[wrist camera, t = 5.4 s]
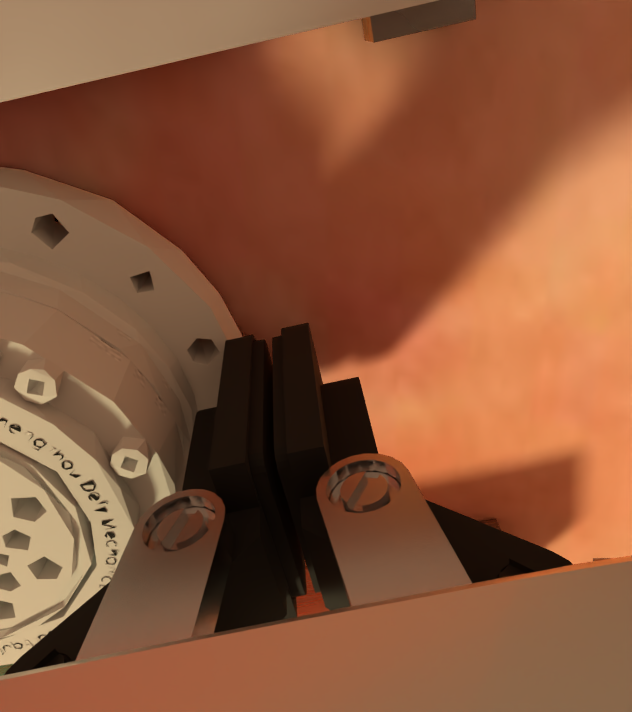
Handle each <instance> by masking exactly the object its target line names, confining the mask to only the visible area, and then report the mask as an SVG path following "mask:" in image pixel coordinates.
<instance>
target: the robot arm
mask: <svg viewBox="0 0 632 712" xmlns="http://www.w3.org/2000/svg"><path fill="white" fill-rule="evenodd" d="M281 334H282V336H279V337H274V338H272V352H273V365H272V361H271V357H270V354H269V350H268V347H267V344H266V341H265V340H260V341H256V340H255V338H254V336H253V335H249V336H245V337H240V338H235V339H231V340H226V341H225V347H224V355H223V362H222V370H221V377H220V385H219V393H218V400H217V407H213V408H209V409H204V410H199V411H198V412H197V413H196V416H195V422H194V427H193V433H192V438H191V443H190V449H189V454H188V460H187V465H186V471H185V476H184V482H183V487H182V491H180V492H176V493H174V494H172V495H169V496H167V497H164V498H163V499H161V500H160V501H158V502H157V503H155V504H154V505H152V506H151V507H150V508H149V509H148V510H147V511H146V512H145V513H144V514H143V515H142V516H141V517H140V519H139V521H138V522H137V524H136V525H135V527H134V529H133V532H132V534H131V536H130V538H129V541H128V543H127V545H126V547H125V550H124V552H123V554H122V556H121V559H120V561H119V563H118V565H117V568H116V570H115V572H114V575H113V577H112V579H111V581H110V582H109V583H108V584H106V585H105V586H104V587H103V588H102V589H101V590H99V591H98V592H97V593H96V594H95V595H93V596H92V597H91V598H90V599H89V600H87V601H86V602H85V603H84V604H83V605H82V606H80V607H79V608H78V609H77V610H76V611H74V612H73V613H72V614H71V615H70V616H69V617H67V618H66V619H65V620H64V621H63V622H61V623H60V624H59V625H58V626H57V627H55V628H54V629H53V630H52V631H51V632H50V633H48V634H47V635H46V636H45V637H44V638H42V639H41V640H40V641H39V642H38V643H36V644H35V645H34V646H33V647H32V648H31V649H29V650H28V651H27V652H26V653H25V654H23V655H22V656H21V657H20V658H19V659H18V660H17V661H16V662H15V663H14V664H13V665H12V666H11V667H10V668H9V669H8V670H7V671H6V673H5V674H4V675H3V676H0V712H632V556H626V557H619V558H593V562H586V563H580V564H574V565H573V564H572V563H571V562H570V561H569V560H567V559H565V558H563V557H562V556H560V555H558V554H556V553H554V552H552V551H550V550H547V549H545V548H543V547H540V546H538V545H535V544H533V543H530V542H528V541H525V540H523V539H520V538H518V537H516V536H513V535H511V534H508V533H506V532H503V531H501V530H498V529H496V528H494V527H491V526H489V525H486V524H484V523H481V522H479V521H476V520H474V519H471V518H469V517H467V516H464V515H462V514H459V513H457V512H454V511H452V510H449V509H447V508H444V507H442V506H440V505H437V504H435V503H432V502H430V501H427V500H425V499H424V497H423V495H422V493H421V492H420V490H419V488H418V486H417V484H416V483H415V481H414V479H413V477H412V476H411V474H410V472H409V470H408V469H407V468H406V467H405V466H404V465H403V464H402V462H400V461H398V460H396V459H394V458H393V457H390V456H386V455H382V454H378V451H377V447H376V443H375V439H374V435H373V431H372V427H371V423H370V419H369V415H368V411H367V408H366V404H365V400H364V396H363V392H362V388H361V384H360V380H359V377H356V378H351V379H346V380H341V381H337V382H332V383H327V384H323V382H322V378H321V374H320V370H319V365H318V361H317V357H316V353H315V348H314V344H313V340H312V336H311V331H310V327H309V324H308V323H305V324H300V325H296V326H291V327H286V328H282V329H281ZM305 561H306V565H307V568H308V571H309V575H310V578H311V581H312V584H313V588H314V591H315V593H318V592H321V594H322V598H323V601H324V605H325V607H326V608H327V609H329V610H330V611H325V612H320V613H314V614H309V615H304V616H299V617H297V601H296V597H298V596H303V595H306V594H307V586H306V572H305Z"/></svg>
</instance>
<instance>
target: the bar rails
mask: <svg viewBox="0 0 632 712" xmlns="http://www.w3.org/2000/svg"><path fill="white" fill-rule="evenodd" d="M361 18H362V24H363V31H364V38H365V41H369V42H378V41H383V40H387V39H391V38H396V37H400V36H404V35H409V34H413V33H417V32H422V31H426V30H430V29H435V28H439V27H443V26H448V25H452V24H456V23H461V22H465V21H469V20H474V19H476V10H475V0H0V102H4V101H9V100H13V99H17V98H22V97H26V96H30V95H34V94H39V93H43V92H47V91H52V90H56V89H60V88H65V87H69V86H73V85H77V84H82V83H86V82H90V81H95V80H99V79H103V78H107V77H112V76H116V75H120V74H125V73H129V72H133V71H137V70H142V69H146V68H150V67H155V66H159V65H163V64H168V63H172V62H176V61H180V60H185V59H189V58H193V57H198V56H202V55H206V54H210V53H215V52H219V51H223V50H228V49H232V48H236V47H241V46H245V45H249V44H253V43H258V42H262V41H266V40H271V39H275V38H279V37H283V36H288V35H292V34H296V33H301V32H305V31H309V30H313V29H318V28H322V27H326V26H331V25H335V24H339V23H344V22H348V21H352V20H356V19H361ZM481 523H484V524H486V525H489V526H491V527H494V528H496V529H498V530H501V529H500V527H499V525H498V523H497V520H496V519H492V520H487V521H482V522H481ZM305 572H306V586H307V594H306V595H303V596H298V597H296V601H297V617H299V616H304V615H309V614H314V613H320V612H325V611H330V610H329V609H327V608H326V607H325V605H324V601H323V598H322V594H321V592H318V593H315V591H314V588H313V584H312V581H311V578H310V575H309V571H308V568H307V567H305ZM12 665H13V664H7V665H1V666H0V676H3V675H4V674H5V673H6V671H7V670H8V669H9V668H10V667H11V666H12Z"/></svg>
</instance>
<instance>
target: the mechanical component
mask: <svg viewBox="0 0 632 712" xmlns="http://www.w3.org/2000/svg"><path fill="white" fill-rule="evenodd" d="M54 216H55V217H56V218H57V219H58V221H59V222H60V223H61V224H62V225H63V226H62V225H61V224H59V223H57V222H55V220H54ZM240 337H242V334H241V332H240V331H239V329H238V327H237V325H236V323H235V321H234V319H233V318H232V316H231V314H230V312H229V310H228V308H227V307H226V305H225V303H224V301H223V299H222V297H221V295H220V294H219V292H218V291H217V290H216V289H215V288H214V287H213V285H212V284H211V283H210V282H209V281H208V280H207V279H206V277H205V276H204V275H203V274H202V273H201V272H200V270H199V269H198V268H197V267H196V266H195V265H194V264H193V262H192V261H191V260H190V259H189V258H188V257H187V256H186V254H185V253H184V252H183V251H182V250H181V249H179V248H178V247H177V246H175V245H174V244H173V243H171V242H170V241H168V240H167V239H166V238H164V237H163V236H162V235H160V234H159V233H157V232H156V231H155V230H153V229H152V228H151V227H149V226H148V225H147V224H145V223H144V222H142V221H141V220H140V219H138V218H137V217H136V216H134V215H133V214H131V213H130V212H129V211H127V210H126V209H125V208H123V207H122V206H120V205H119V204H118V203H116V202H115V201H114V200H112V199H109V198H106V197H103V196H100V195H97V194H94V193H91V192H88V191H85V190H82V189H79V188H76V187H73V186H70V185H67V184H64V183H61V182H58V181H55V180H52V179H49V178H46V177H43V176H40V175H37V174H35V173H32V172H29V171H26V170H23V169H14V168H6V167H0V666H1V665H7V664H14V663H15V662H16V661H17V660H18V659H19V658H20V657H21V656H22V655H23V654H25V653H26V652H27V651H28V650H29V649H31V648H32V647H33V646H34V645H35V644H36V643H38V642H39V641H40V640H41V639H42V638H44V637H45V636H46V635H47V634H48V633H50V632H51V631H52V630H53V629H54V628H55V627H57V626H58V625H59V624H60V623H61V622H63V621H64V620H65V619H66V618H67V617H69V616H70V615H71V614H72V613H73V612H74V611H76V610H77V609H78V608H79V607H80V606H82V605H83V604H84V603H85V602H86V601H87V600H89V599H90V598H91V597H92V596H93V595H95V594H96V593H97V592H98V591H99V590H101V589H102V588H103V587H104V586H105V585H106V584H108V583H109V582H110V581H111V579H112V577H113V575H114V572H115V570H116V568H117V565H118V563H119V561H120V559H121V556H122V554H123V552H124V550H125V547H126V545H127V543H128V541H129V538H130V536H131V534H132V532H133V529H134V527H135V525H136V524H137V522H138V521H139V519H140V517H141V516H142V515H143V514H144V513H145V512H146V511H147V510H148V509H149V508H150V507H151V506H152V505H154V504H155V503H157V502H158V501H160V500H161V499H163V498H164V497H167V496H169V495H172V494H174V493H176V492H180V491H182V487H183V482H184V476H185V471H186V465H187V460H188V454H189V449H190V443H191V438H192V433H193V427H194V422H195V416H196V413H197V412H198V411H199V410H204V409H209V408H213V407H217V400H218V393H219V385H220V377H221V370H222V362H223V355H224V347H225V341H226V340H231V339H235V338H240Z"/></svg>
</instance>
